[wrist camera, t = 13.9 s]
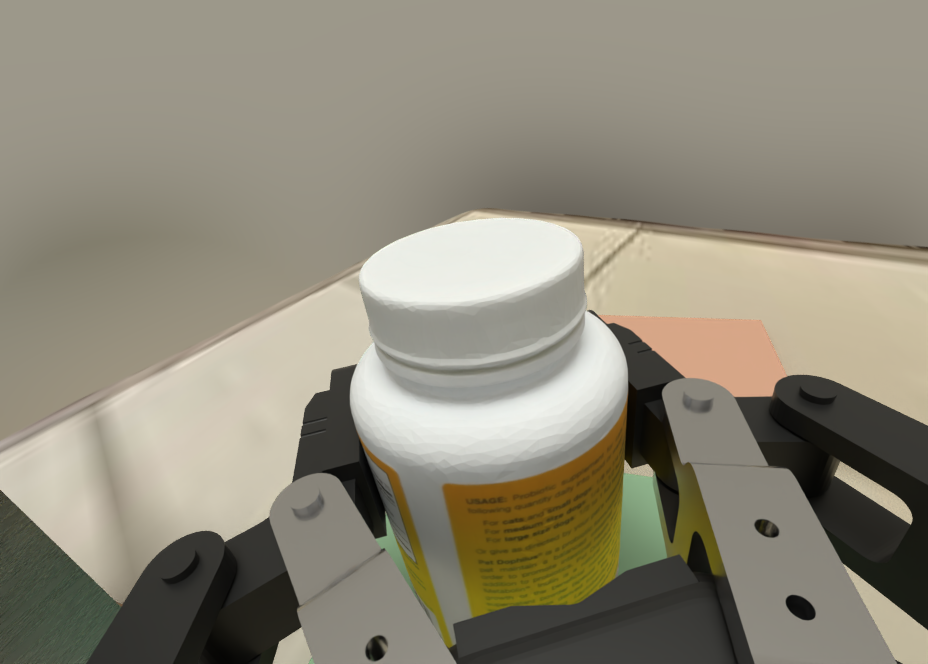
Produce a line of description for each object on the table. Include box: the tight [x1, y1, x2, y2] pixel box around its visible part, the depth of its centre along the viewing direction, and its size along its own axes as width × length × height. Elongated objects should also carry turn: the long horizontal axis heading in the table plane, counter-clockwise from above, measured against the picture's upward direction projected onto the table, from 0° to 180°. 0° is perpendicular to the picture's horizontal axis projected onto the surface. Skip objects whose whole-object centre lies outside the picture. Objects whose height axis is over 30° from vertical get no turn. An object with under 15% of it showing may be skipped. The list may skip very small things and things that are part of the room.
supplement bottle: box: [350, 218, 628, 649], centre depth 10 cm, size 6×6×10 cm
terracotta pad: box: [598, 315, 787, 397], centre depth 22 cm, size 10×10×1 cm
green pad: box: [309, 473, 667, 664], centre depth 14 cm, size 11×11×1 cm
